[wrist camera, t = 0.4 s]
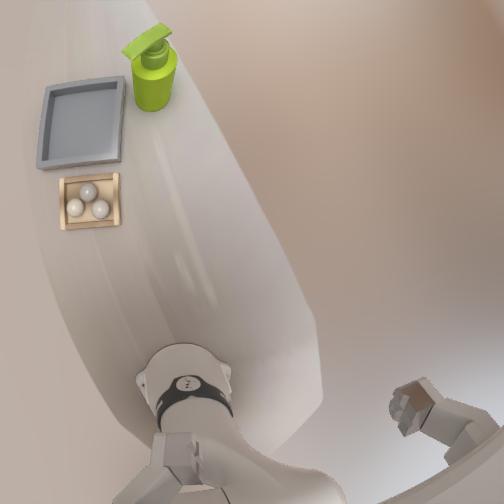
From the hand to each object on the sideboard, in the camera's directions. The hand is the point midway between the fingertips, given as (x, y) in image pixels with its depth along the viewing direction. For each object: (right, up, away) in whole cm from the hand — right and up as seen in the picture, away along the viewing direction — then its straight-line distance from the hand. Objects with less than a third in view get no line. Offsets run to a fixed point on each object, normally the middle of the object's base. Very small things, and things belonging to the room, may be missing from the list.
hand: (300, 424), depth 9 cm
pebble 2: (-27, +16, +28) cm, 41 cm away
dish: (-29, +27, +27) cm, 48 cm away
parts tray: (-27, +15, +30) cm, 43 cm away
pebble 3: (-25, +13, +29) cm, 40 cm away
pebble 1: (-29, +13, +27) cm, 42 cm away
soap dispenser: (-19, +32, +30) cm, 48 cm away
